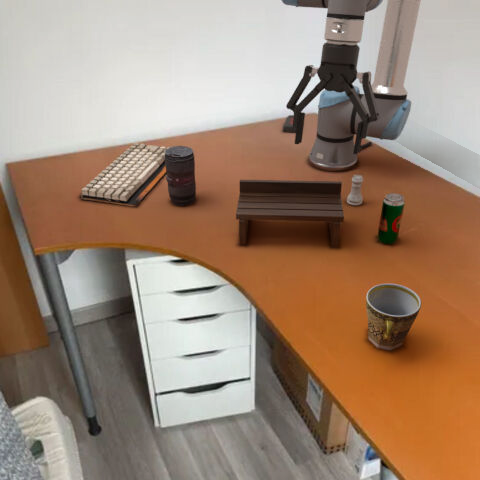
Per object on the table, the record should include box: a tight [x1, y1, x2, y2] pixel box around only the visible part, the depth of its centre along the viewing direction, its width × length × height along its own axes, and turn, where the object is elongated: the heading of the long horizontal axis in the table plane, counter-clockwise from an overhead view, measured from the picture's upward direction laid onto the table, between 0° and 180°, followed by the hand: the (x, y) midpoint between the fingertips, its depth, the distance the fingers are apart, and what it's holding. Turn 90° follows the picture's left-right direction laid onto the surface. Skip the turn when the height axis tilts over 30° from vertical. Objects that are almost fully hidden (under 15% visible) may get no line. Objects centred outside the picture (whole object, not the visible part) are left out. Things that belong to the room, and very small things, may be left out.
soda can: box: [376, 192, 406, 245], centre depth 129 cm, size 5×5×12 cm
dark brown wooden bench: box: [235, 179, 345, 249], centre depth 133 cm, size 14×26×12 cm, turn 85°
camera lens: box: [165, 145, 197, 207], centre depth 146 cm, size 8×8×15 cm
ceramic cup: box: [365, 283, 422, 351], centre depth 100 cm, size 13×10×10 cm
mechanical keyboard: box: [79, 142, 171, 208], centre depth 164 cm, size 38×19×3 cm, turn 164°
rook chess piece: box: [346, 174, 364, 207], centre depth 146 cm, size 4×4×8 cm
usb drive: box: [282, 114, 296, 133], centre depth 195 cm, size 5×12×3 cm, turn 169°
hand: (326, 148), depth 117 cm, fingers open, 13 cm apart
